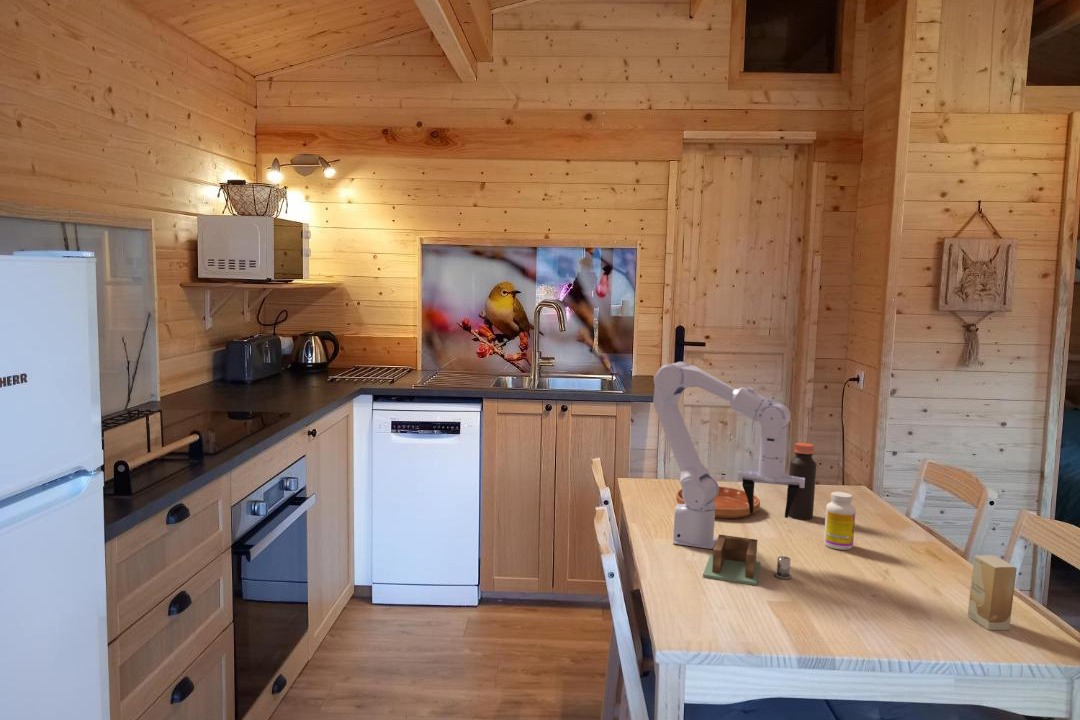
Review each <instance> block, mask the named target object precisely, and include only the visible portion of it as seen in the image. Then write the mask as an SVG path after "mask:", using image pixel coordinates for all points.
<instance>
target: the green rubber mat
mask: <svg viewBox="0 0 1080 720" xmlns="http://www.w3.org/2000/svg"><path fill="white" fill-rule="evenodd" d="M712 567H713V554H710V555H709V558H708V560H707V563H706V565H705V567H704V570H703V574H702V578H707V579H713V580H720V581H727V582H732V583H740V584H744V585H751V586H757V584H758V579H759V575H760V569H761V561H757V560H756V565H755V570H754V575H753V578H747V577H745V569H746V562H740V561H733V560H726V559H724V562H723V565H722V568H721V571H720V573H714V572H712Z"/></svg>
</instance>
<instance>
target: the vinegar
mask: <svg viewBox="0 0 1080 720" xmlns="http://www.w3.org/2000/svg"><path fill="white" fill-rule="evenodd" d="M814 451H815V445H814V444H812V443H808V442H796V443H794V454H795V456H794V457H793V458H791V460H790V462H789V474H788V475H790V476H795V477H802V478H805V486H804V488H800V487H799V492H798V494H797V496H796V497H795V499H794V501H793V503H792V505H791V508H790V511H789V515H788V517H790V518H792V519H796V520H804V521H805V520H811V519H813V517H814V508H815V507H814V505H815V492H816V491H815V489H816V477H817V475H816V474H817V463H816V461H815V460H814V459H813V456H814Z"/></svg>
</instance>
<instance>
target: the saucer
mask: <svg viewBox="0 0 1080 720" xmlns="http://www.w3.org/2000/svg"><path fill="white" fill-rule="evenodd" d="M718 486H719V492H718V495H717V497H716V498H715V499H714V504H715V518H716V519H738V518H739V519H740V518H745V517H748V516H749V515H752V513H750V509H749V503H748V499H747V496H746V493H745V491H744V490H742V489H738V488H733V487H727V486H720V485H718ZM675 499H676V503H677V504H685V502H684V500H683V498H682V488H681V489H679V490H678V491H677V492H676V496H675ZM760 505H761V501H760V498H759V497H758V496H756V495H755V494H754V510H753V514H754V513H756V512H757V511H759V510H760Z"/></svg>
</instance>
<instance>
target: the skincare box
mask: <svg viewBox="0 0 1080 720" xmlns="http://www.w3.org/2000/svg"><path fill="white" fill-rule="evenodd" d="M1017 569H1018V568H1017V566H1014V565H1012V564H1011V563H1009V562H1008V561H1006V560H1004V559H1002V558H1000V557H998V556H997V555H993V554H992V555H985V554H983V555H982V554H981V555H979V554H978V555H973V565H972V573H971V574H972V575H971V582H970V591H969V592H970V593H969V597H968V598H969V599H968V608H967V609H968V610H967V616H968V617H969V618H971V620H973V621H975V622H976V623H978V624H979V626H982V627H983V628H985V629H986V630H987V631H1010V627H1011V616H1012V609H1013V603H1014V602H1013V601H1014V596H1015V586H1016V576H1017Z"/></svg>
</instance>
